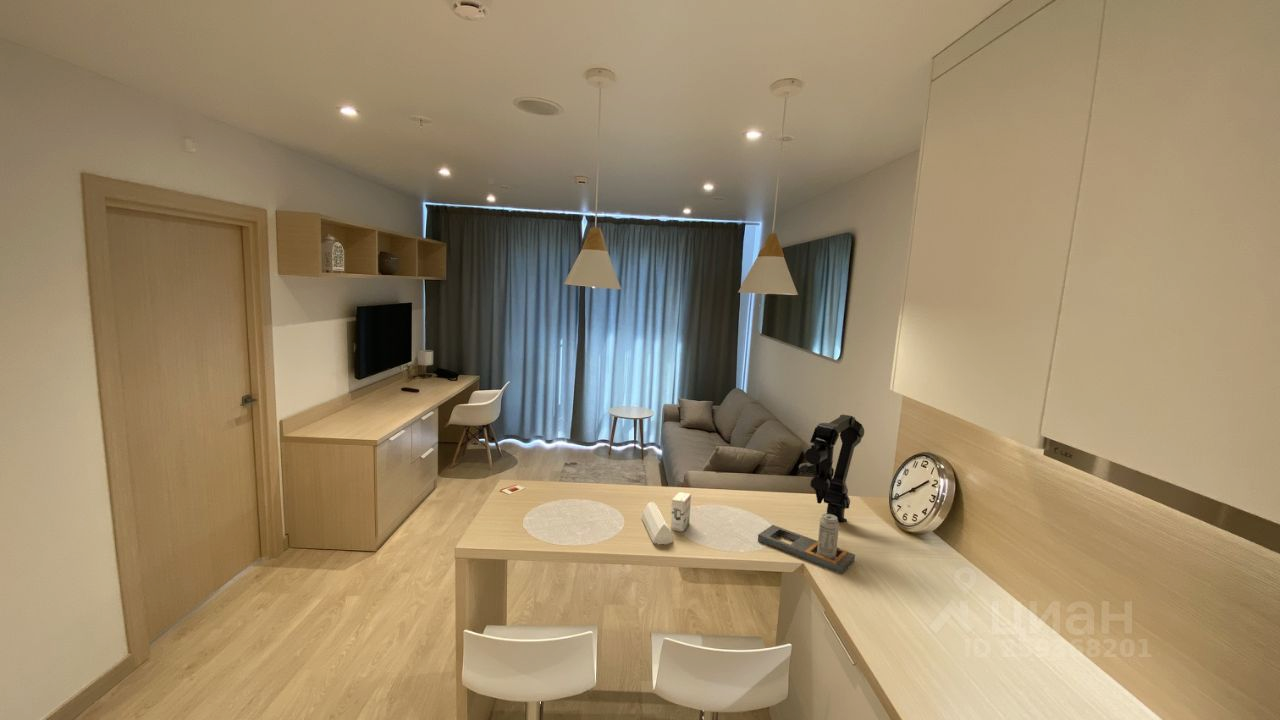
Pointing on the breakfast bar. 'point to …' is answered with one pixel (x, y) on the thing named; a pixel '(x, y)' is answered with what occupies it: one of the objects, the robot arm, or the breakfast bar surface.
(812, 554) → the grey flat block
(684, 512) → the ink box
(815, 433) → the robot arm
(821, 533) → the energy drink can
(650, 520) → the pointed wooden block
